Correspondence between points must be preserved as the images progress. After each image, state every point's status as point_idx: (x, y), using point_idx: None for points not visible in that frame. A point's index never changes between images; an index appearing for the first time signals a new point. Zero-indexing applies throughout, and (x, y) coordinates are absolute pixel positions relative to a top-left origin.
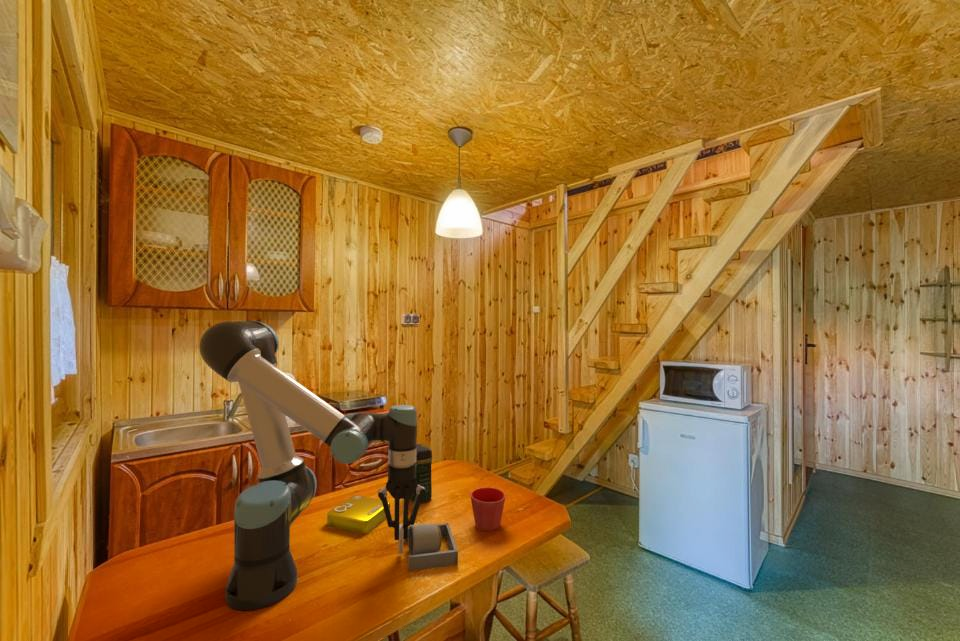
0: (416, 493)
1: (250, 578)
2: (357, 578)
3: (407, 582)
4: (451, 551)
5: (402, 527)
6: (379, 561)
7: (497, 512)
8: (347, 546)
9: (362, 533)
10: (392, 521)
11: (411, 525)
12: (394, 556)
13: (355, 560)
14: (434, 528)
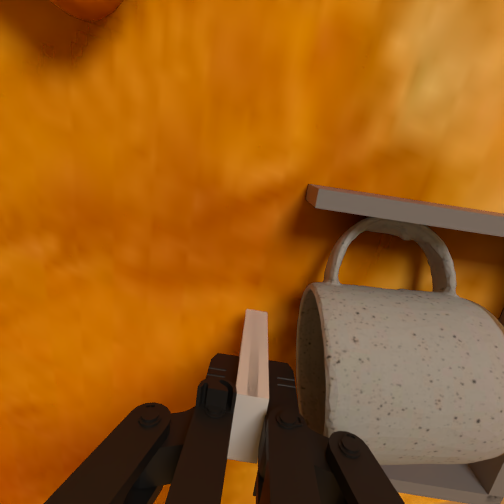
0: None
1: None
2: (74, 388)
3: (245, 468)
4: (468, 500)
5: (254, 442)
6: (160, 319)
7: None
8: (8, 135)
9: (77, 17)
10: (161, 473)
11: (335, 396)
12: (228, 307)
13: (58, 274)
14: (481, 457)
